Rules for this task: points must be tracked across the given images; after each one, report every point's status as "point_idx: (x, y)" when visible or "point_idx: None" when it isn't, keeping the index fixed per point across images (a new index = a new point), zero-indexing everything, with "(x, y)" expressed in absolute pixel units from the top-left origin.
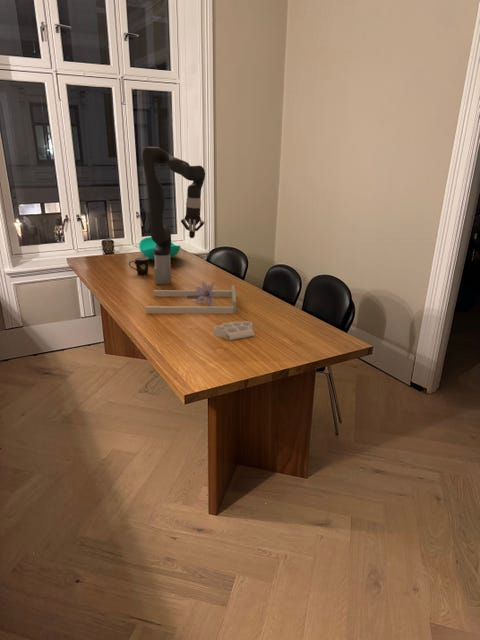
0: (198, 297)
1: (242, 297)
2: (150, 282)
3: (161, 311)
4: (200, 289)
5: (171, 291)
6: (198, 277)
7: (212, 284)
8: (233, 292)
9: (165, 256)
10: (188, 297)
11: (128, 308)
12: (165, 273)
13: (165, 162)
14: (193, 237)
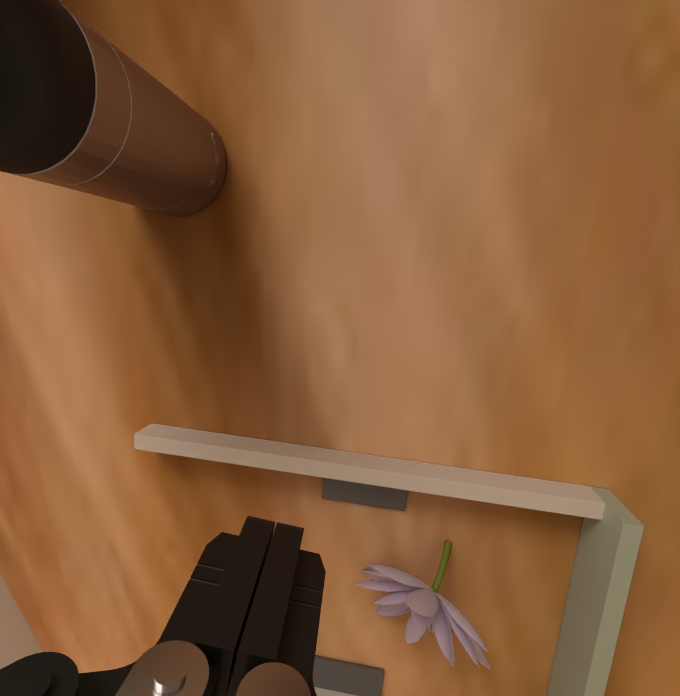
0: (379, 609)
1: (652, 526)
2: None
3: None
4: (395, 569)
5: (232, 462)
6: (421, 20)
7: (475, 634)
8: (597, 673)
9: (65, 167)
10: (331, 493)
11: (66, 591)
12: (157, 200)
13: None
14: (303, 530)
